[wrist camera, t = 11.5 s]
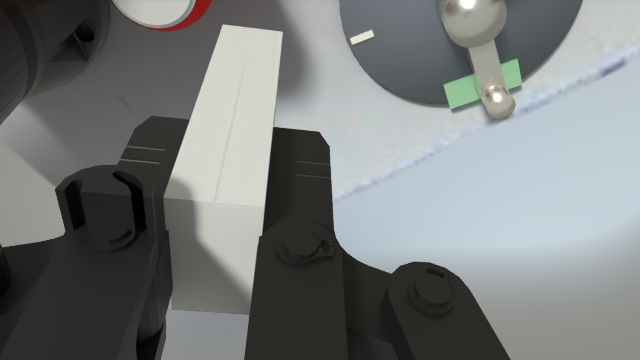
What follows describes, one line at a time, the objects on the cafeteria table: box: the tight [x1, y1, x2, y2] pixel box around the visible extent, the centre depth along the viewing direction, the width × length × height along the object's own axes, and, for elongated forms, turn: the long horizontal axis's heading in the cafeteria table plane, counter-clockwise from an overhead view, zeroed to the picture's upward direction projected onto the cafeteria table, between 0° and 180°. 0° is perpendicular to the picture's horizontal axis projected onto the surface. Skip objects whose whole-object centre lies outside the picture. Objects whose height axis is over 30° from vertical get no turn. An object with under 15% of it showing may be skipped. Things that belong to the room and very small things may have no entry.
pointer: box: [435, 0, 515, 119], centre depth 37 cm, size 10×4×5 cm, turn 25°
